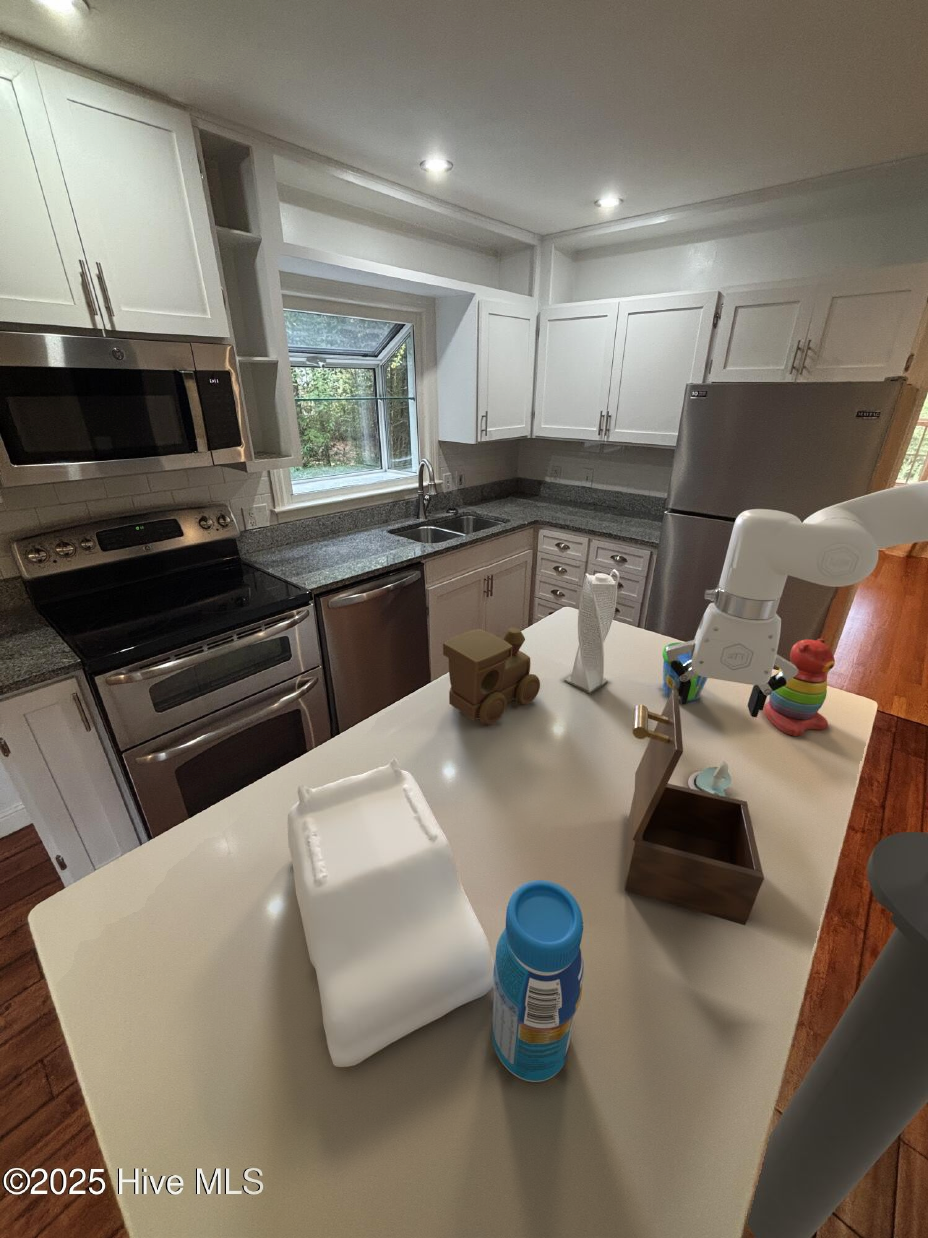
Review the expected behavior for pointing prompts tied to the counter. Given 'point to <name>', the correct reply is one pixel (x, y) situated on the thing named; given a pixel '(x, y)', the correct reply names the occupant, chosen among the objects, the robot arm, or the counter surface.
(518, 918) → the beverage bottle
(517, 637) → the wooden toy train
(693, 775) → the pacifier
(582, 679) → the skyscraper
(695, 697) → the snack cup
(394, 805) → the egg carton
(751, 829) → the chest
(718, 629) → the robot arm
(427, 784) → the counter surface
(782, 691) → the stacking bear
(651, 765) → the lid
